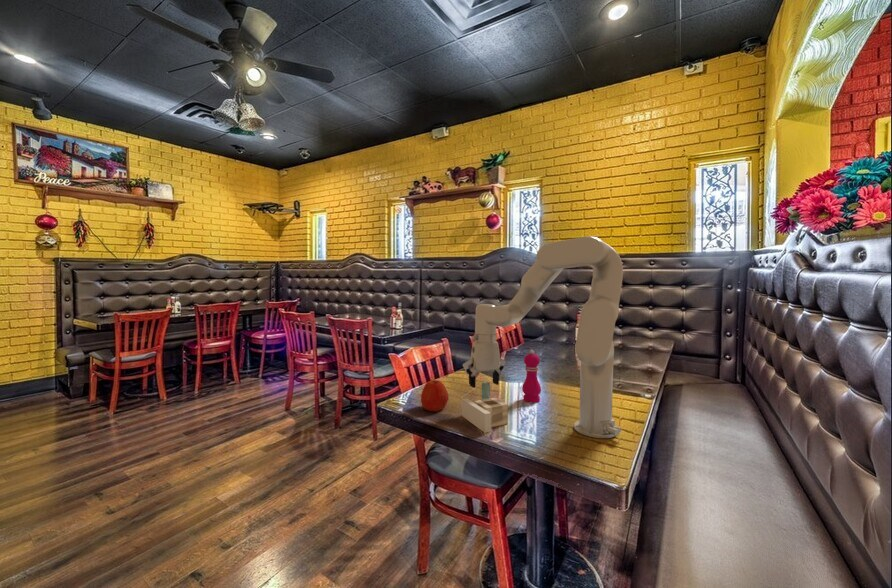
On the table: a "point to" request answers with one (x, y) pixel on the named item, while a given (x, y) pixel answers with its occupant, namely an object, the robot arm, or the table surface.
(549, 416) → the table surface
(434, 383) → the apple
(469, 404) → the wall
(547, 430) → the table surface
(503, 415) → the block
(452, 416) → the table surface
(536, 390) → the pepper mill
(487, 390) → the dowel
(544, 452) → the table surface
